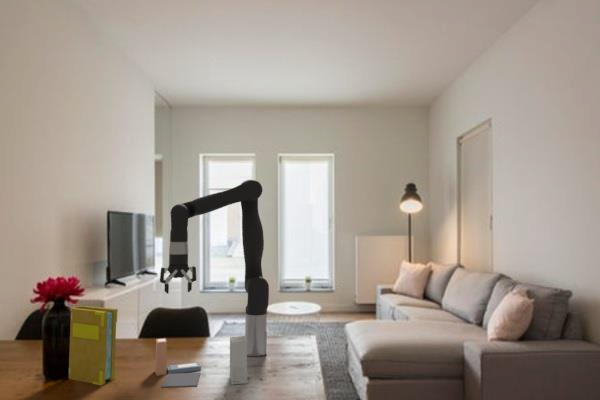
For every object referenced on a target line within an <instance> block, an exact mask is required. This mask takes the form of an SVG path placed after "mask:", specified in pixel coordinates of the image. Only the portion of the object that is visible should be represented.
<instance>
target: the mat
mask: <svg viewBox="0 0 600 400" xmlns="http://www.w3.org/2000/svg"><path fill="white" fill-rule="evenodd" d="M201 374H202V373H201V372H182V373H173V374H168V373H166V377H165V378H164V380H163V382H162V385H161V388H162V389H163V388H183V387H184V388H186V387H192V388H193V387H198V385H199V381H200V378H201Z"/></svg>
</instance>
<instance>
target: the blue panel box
mask: <svg viewBox="0 0 600 400" xmlns="http://www.w3.org/2000/svg"><path fill="white" fill-rule="evenodd" d="M198 371H202V365H201V364H200V362H199V361H197V362H189V363H180V364H179V363H178V364H170V365H166V372H167V374H176V373H191V372H198Z"/></svg>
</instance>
